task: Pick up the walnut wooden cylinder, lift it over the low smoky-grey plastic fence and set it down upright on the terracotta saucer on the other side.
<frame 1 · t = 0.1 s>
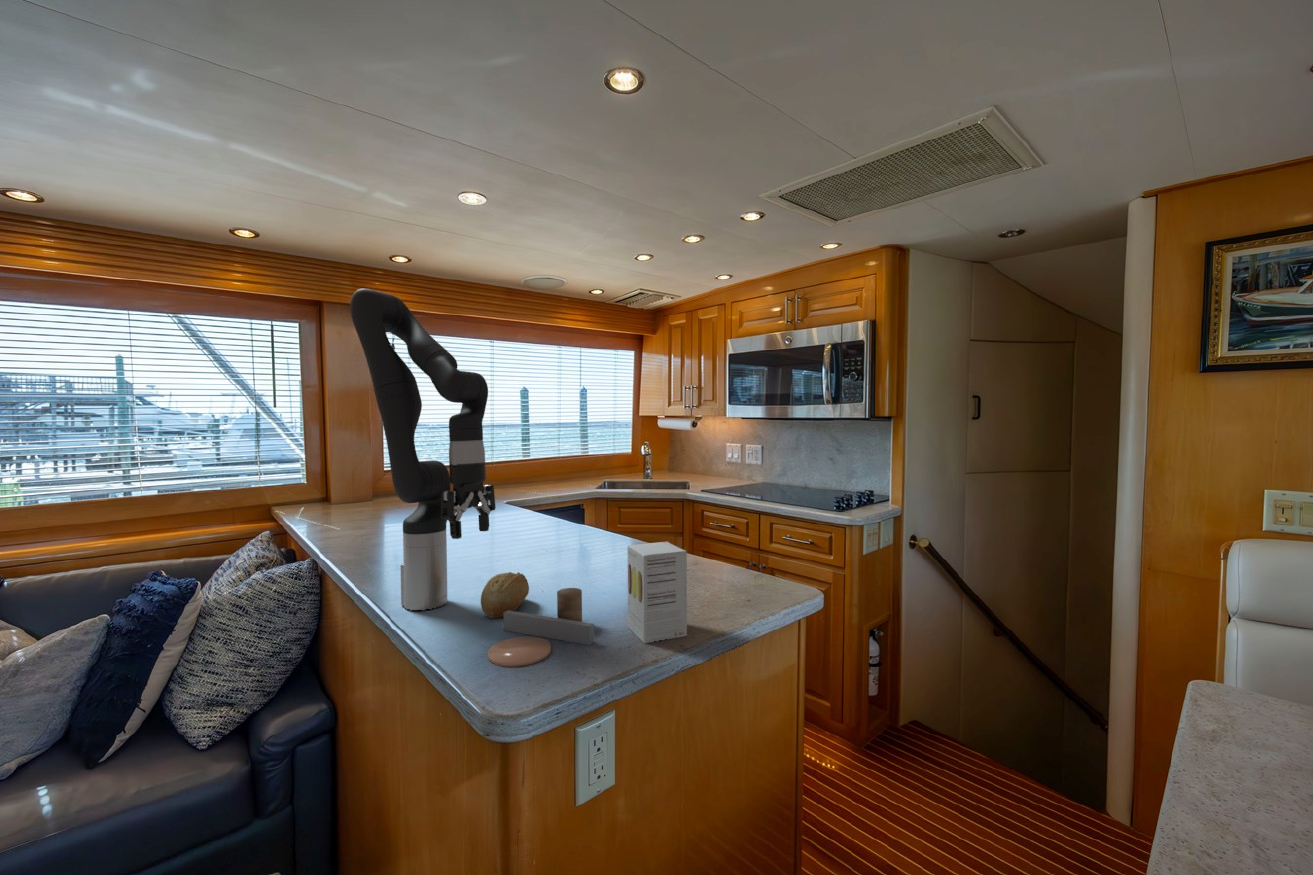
hand: (470, 534, 118), 17 cm above the countertop, tool pointing down, fingers open, 8 cm apart
plastic fence: (547, 635, 104), on the countertop
bread roll: (506, 609, 120), on the countertop
terracotta saucer: (519, 652, 96), on the countertop
supplement box: (656, 632, 106), on the countertop
walnut cylinder: (569, 625, 110), on the countertop
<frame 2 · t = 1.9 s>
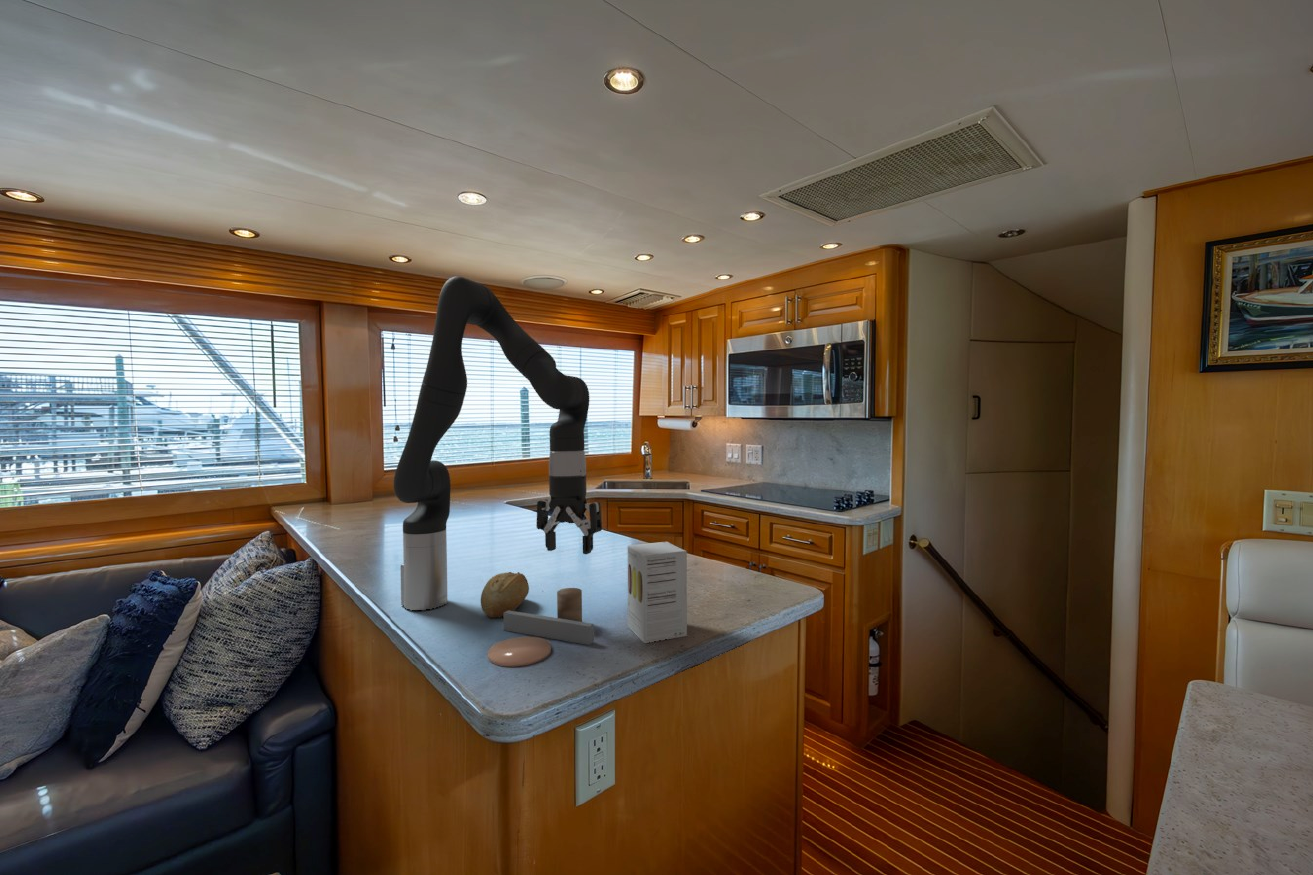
hand: (569, 551, 109), 15 cm above the countertop, tool pointing down, fingers open, 8 cm apart
nothing on the countertop moved.
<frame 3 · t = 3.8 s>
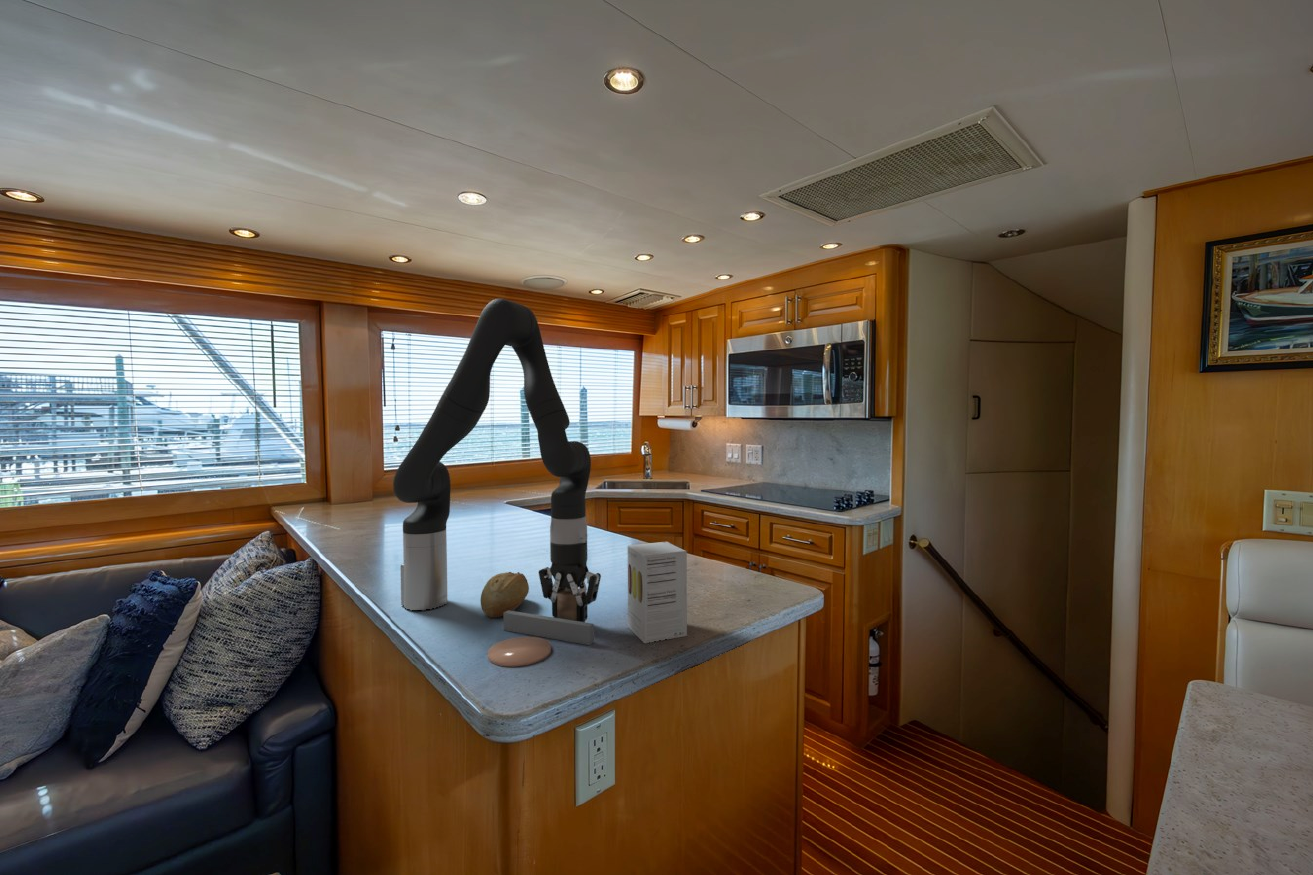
hand: (569, 620, 109), 1 cm above the countertop, tool pointing down, fingers closed on walnut cylinder, 5 cm apart
walnut cylinder: (569, 625, 109), on the countertop, touching gripper
everything else where it was.
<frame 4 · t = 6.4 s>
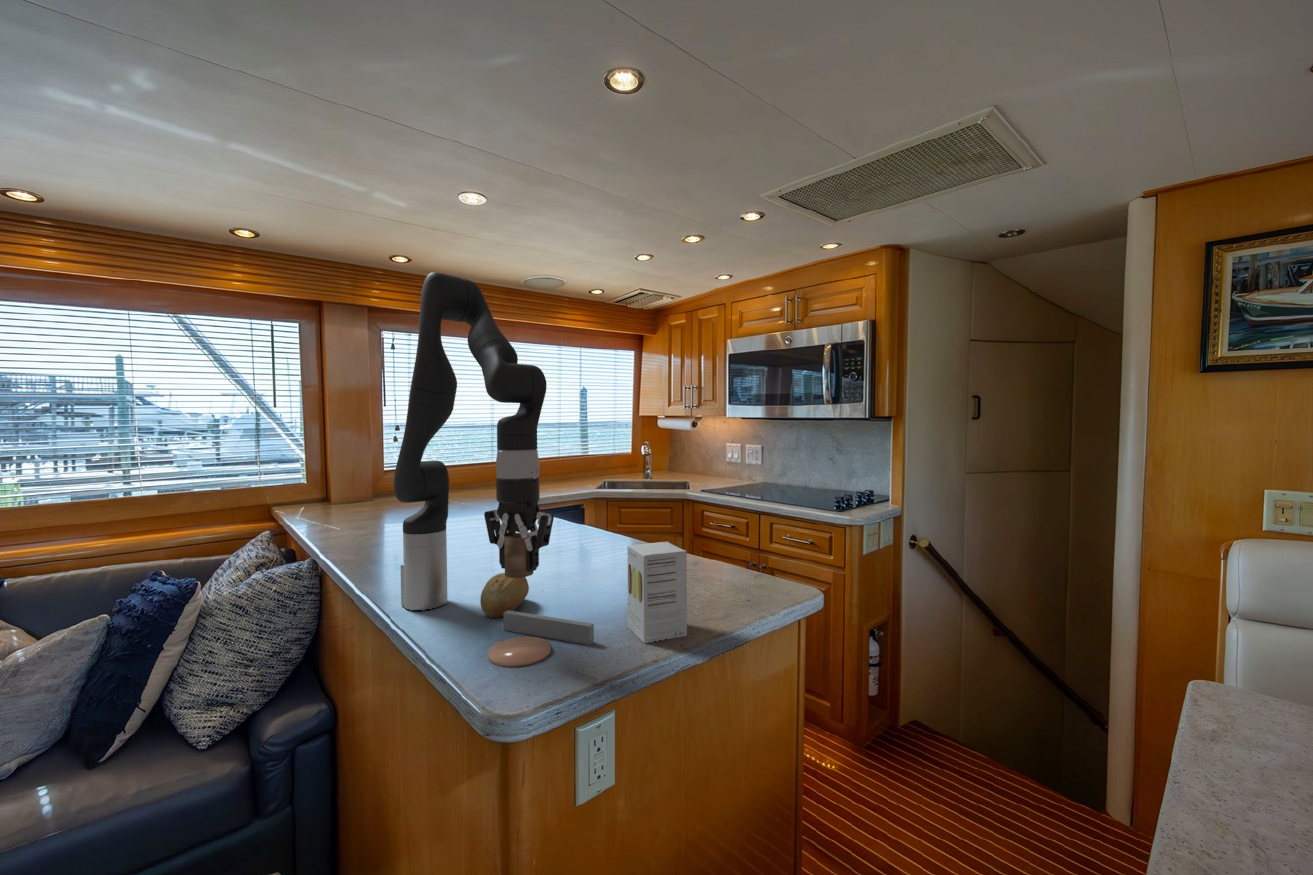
hand: (519, 568, 96), 15 cm above the countertop, tool pointing down, fingers closed on walnut cylinder, 5 cm apart
walnut cylinder: (519, 573, 96), point 14 cm above the countertop, touching gripper
everything else where it was.
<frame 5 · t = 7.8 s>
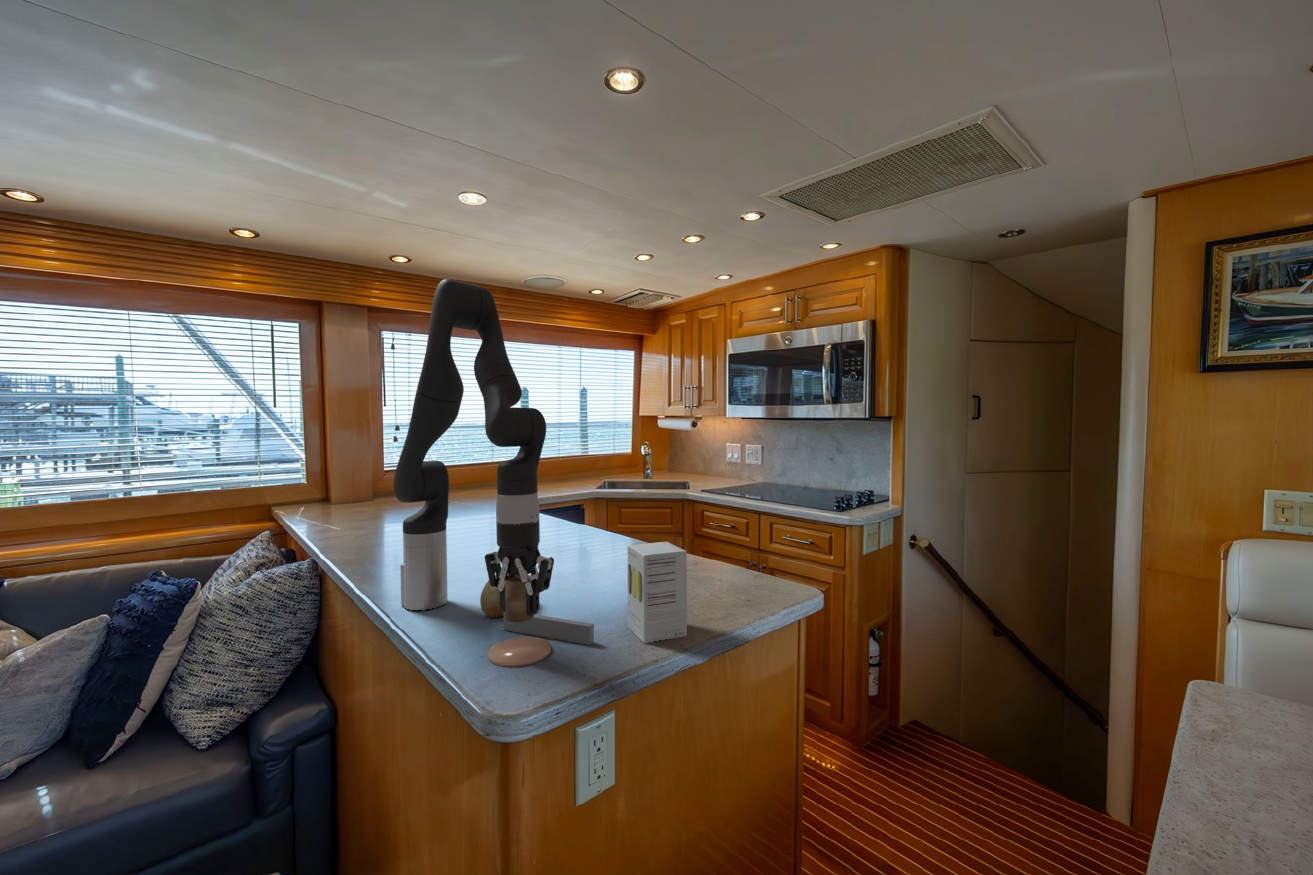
hand: (519, 611, 96), 7 cm above the countertop, tool pointing down, fingers closed on walnut cylinder, 5 cm apart
walnut cylinder: (519, 617, 96), point 7 cm above the countertop, touching gripper
everything else where it was.
when the fingers open (2 cm above the countertop, at t = 9.2 s): walnut cylinder stays where it is, resting on terracotta saucer.
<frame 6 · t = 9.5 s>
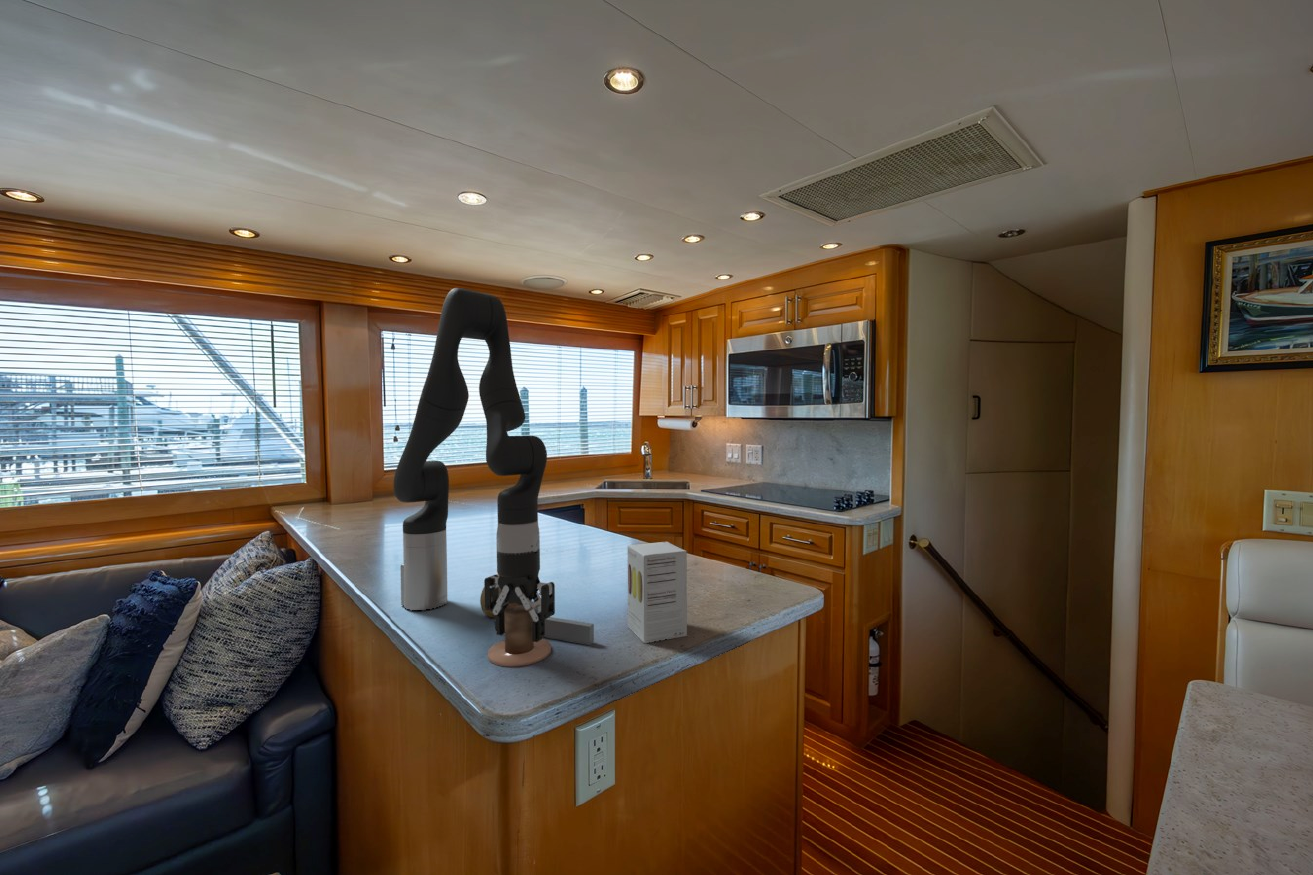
hand: (519, 636, 96), 3 cm above the countertop, tool pointing down, fingers open, 7 cm apart
walnut cylinder: (519, 648, 96), point 1 cm above the countertop, touching terracotta saucer
everything else where it was.
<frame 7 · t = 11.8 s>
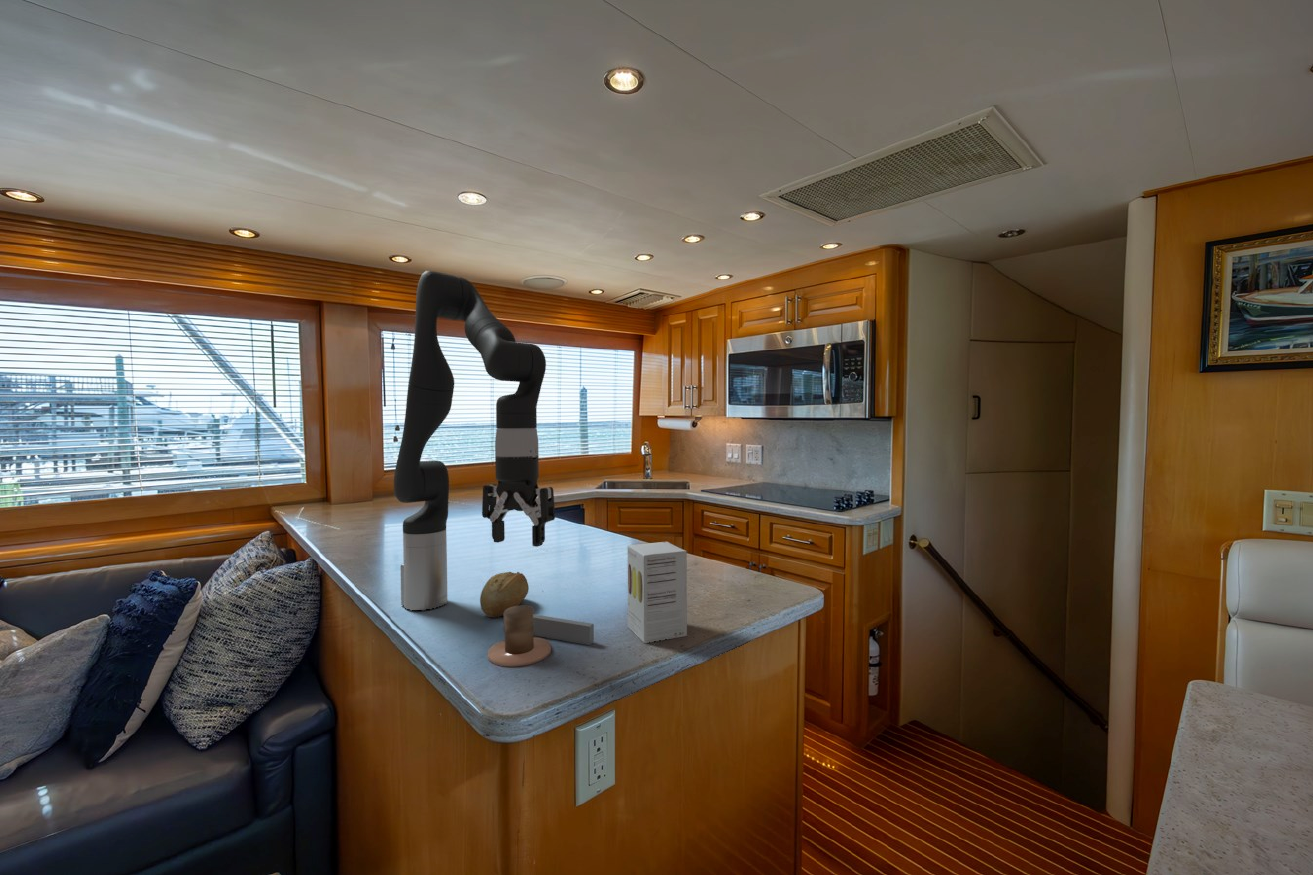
hand: (518, 543, 96), 20 cm above the countertop, tool pointing down, fingers open, 8 cm apart
nothing on the countertop moved.
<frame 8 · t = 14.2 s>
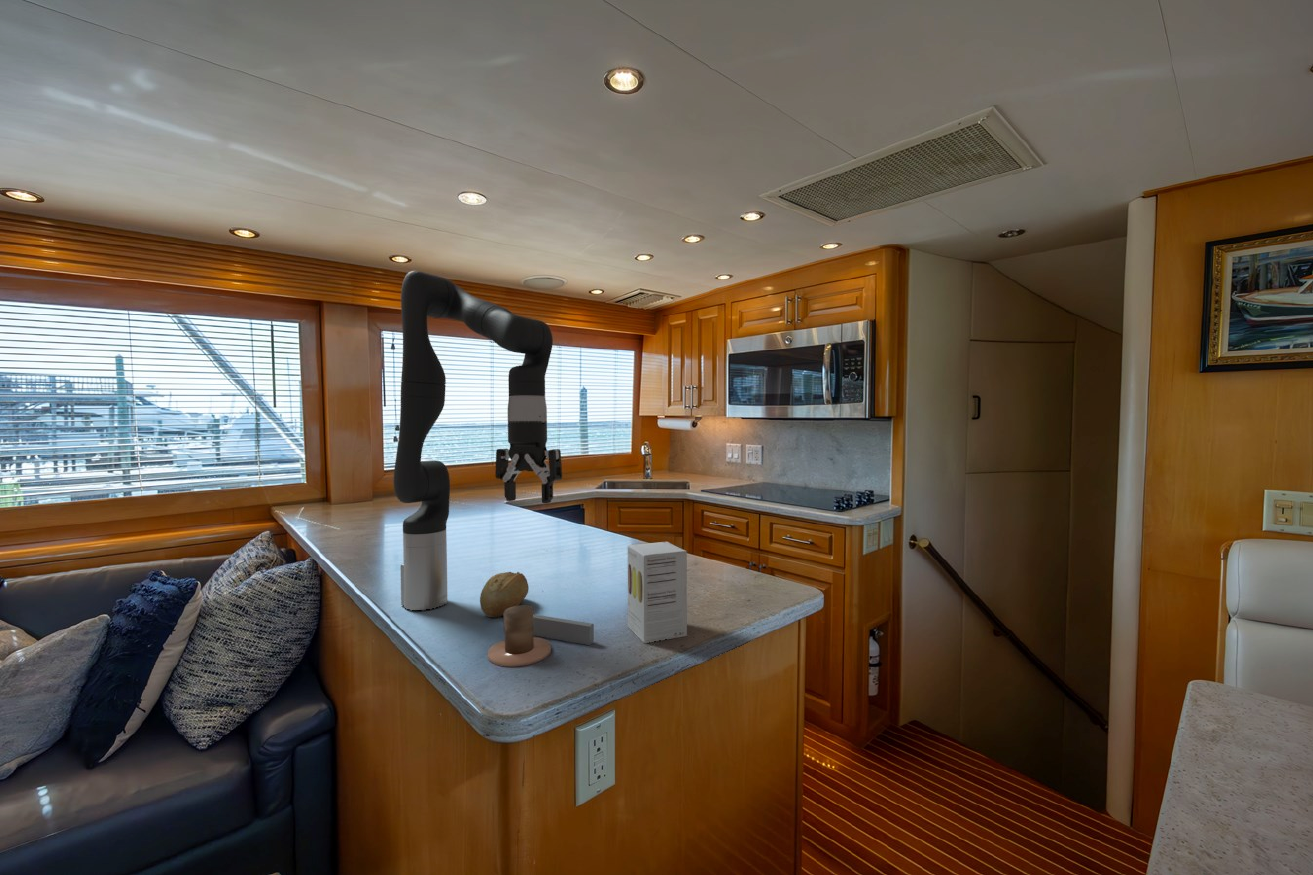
hand: (528, 501, 105), 26 cm above the countertop, tool pointing down, fingers open, 8 cm apart
nothing on the countertop moved.
at the end: walnut cylinder 0.1 cm off-centre on the terracotta saucer, point 0.8 cm above the terracotta saucer's base; walnut cylinder tilted 0°; the gripper is holding nothing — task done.
